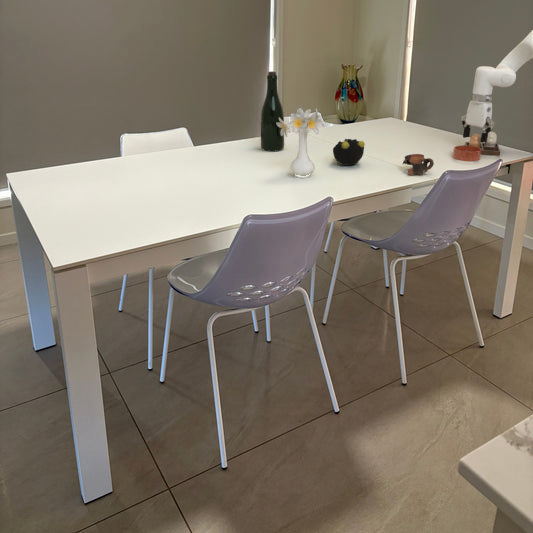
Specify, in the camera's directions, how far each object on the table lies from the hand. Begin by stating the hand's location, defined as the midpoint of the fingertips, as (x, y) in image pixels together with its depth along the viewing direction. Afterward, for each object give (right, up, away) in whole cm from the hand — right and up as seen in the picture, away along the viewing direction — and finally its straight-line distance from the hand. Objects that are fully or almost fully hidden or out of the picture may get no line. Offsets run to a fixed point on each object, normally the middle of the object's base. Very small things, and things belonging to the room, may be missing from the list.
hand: (474, 139), depth 249 cm
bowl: (-5, -9, -6) cm, 12 cm away
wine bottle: (-85, -1, +13) cm, 86 cm away
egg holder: (+5, -4, +5) cm, 8 cm away
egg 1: (0, -5, +2) cm, 5 cm away
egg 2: (+9, -3, +6) cm, 11 cm away
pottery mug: (-30, -18, -22) cm, 41 cm away
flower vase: (-75, -20, -25) cm, 81 cm away
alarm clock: (-55, -12, -11) cm, 58 cm away
